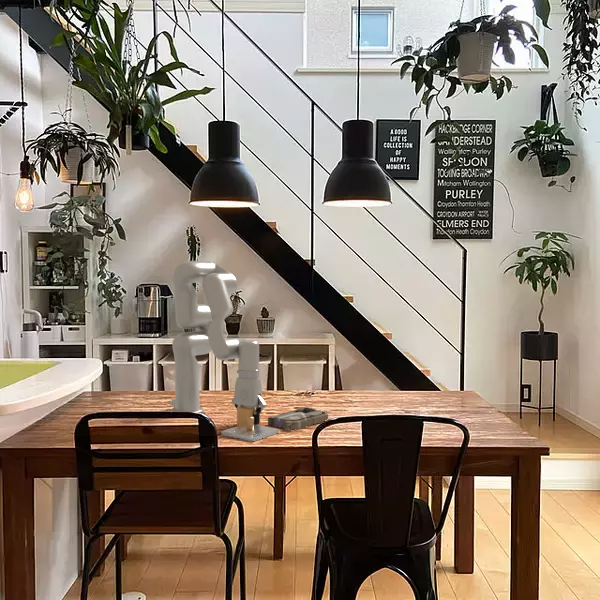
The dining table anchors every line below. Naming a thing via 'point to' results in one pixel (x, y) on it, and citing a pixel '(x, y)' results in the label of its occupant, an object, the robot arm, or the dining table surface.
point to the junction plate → (250, 431)
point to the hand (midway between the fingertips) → (248, 422)
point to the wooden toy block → (244, 414)
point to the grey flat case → (298, 418)
